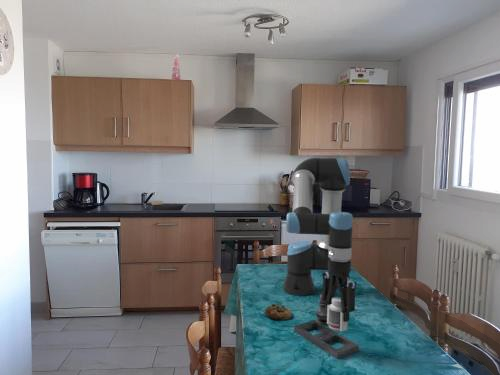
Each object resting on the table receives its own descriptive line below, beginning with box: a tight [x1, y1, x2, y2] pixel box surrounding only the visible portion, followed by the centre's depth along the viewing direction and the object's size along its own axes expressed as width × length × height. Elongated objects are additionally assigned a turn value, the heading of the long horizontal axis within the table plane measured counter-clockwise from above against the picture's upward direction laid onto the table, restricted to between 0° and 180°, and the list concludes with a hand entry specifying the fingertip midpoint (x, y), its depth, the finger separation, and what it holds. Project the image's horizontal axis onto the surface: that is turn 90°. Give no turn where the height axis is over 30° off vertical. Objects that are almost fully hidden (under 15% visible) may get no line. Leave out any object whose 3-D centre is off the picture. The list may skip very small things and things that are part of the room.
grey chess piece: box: [314, 293, 328, 326], centre depth 147 cm, size 6×6×12 cm
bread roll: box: [264, 303, 292, 321], centre depth 153 cm, size 11×11×5 cm
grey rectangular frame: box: [293, 319, 360, 360], centre depth 132 cm, size 22×10×2 cm, turn 32°
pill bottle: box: [328, 296, 343, 331], centre depth 127 cm, size 5×5×10 cm
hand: (336, 326), depth 127 cm, fingers closed on pill bottle, 5 cm apart
